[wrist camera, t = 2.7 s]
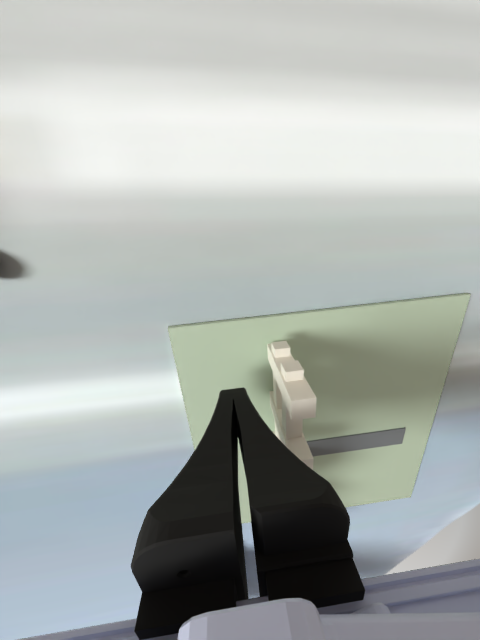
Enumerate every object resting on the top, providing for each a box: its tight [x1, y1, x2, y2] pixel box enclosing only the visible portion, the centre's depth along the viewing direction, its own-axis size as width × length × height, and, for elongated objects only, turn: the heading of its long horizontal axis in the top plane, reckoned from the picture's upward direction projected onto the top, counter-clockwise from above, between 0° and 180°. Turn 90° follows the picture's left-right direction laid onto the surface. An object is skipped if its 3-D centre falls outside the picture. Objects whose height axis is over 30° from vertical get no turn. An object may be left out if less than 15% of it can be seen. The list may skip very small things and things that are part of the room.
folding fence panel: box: [267, 341, 317, 470], centre depth 13 cm, size 9×1×5 cm, turn 5°
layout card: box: [168, 293, 471, 523], centre depth 17 cm, size 19×18×1 cm
